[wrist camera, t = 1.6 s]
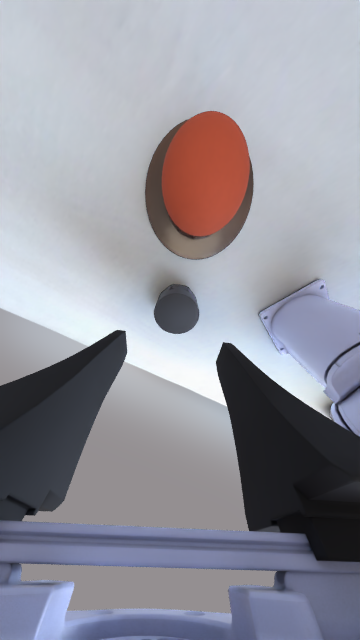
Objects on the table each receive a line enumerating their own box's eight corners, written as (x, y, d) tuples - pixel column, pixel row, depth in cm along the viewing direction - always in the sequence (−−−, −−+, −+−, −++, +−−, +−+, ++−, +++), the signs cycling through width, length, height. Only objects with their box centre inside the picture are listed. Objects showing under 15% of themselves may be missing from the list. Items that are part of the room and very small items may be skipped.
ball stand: (265, 215, 14) (278, 210, 12) (186, 276, 17) (187, 280, 15) (215, 81, 10) (223, 45, 8) (125, 191, 13) (116, 183, 11)
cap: (202, 305, 18) (207, 319, 15) (174, 324, 20) (173, 340, 16) (181, 275, 17) (180, 283, 13) (151, 299, 18) (144, 311, 15)
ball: (243, 208, 13) (287, 179, 7) (190, 251, 14) (196, 253, 9) (209, 129, 10) (237, 5, 5) (152, 192, 12) (130, 150, 7)
